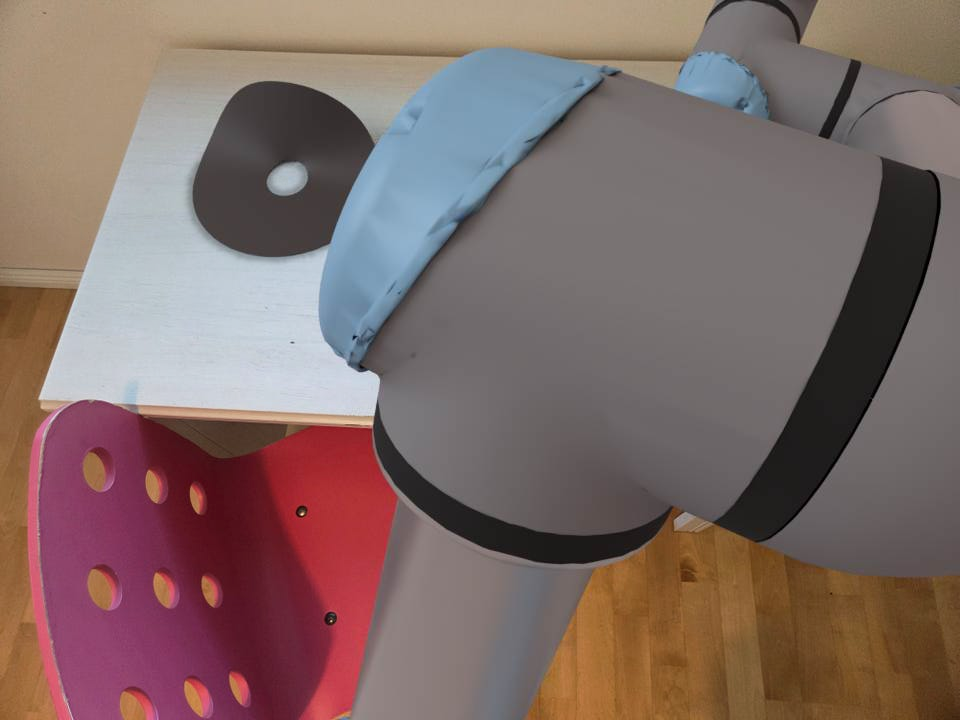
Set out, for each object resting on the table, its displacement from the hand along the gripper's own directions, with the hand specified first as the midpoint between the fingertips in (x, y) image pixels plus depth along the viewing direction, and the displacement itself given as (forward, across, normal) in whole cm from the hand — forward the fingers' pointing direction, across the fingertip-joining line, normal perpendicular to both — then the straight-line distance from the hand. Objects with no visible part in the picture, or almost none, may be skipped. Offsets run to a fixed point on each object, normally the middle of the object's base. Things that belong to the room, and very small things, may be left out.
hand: (677, 237), depth 86 cm
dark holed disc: (0, +51, -3) cm, 51 cm away
